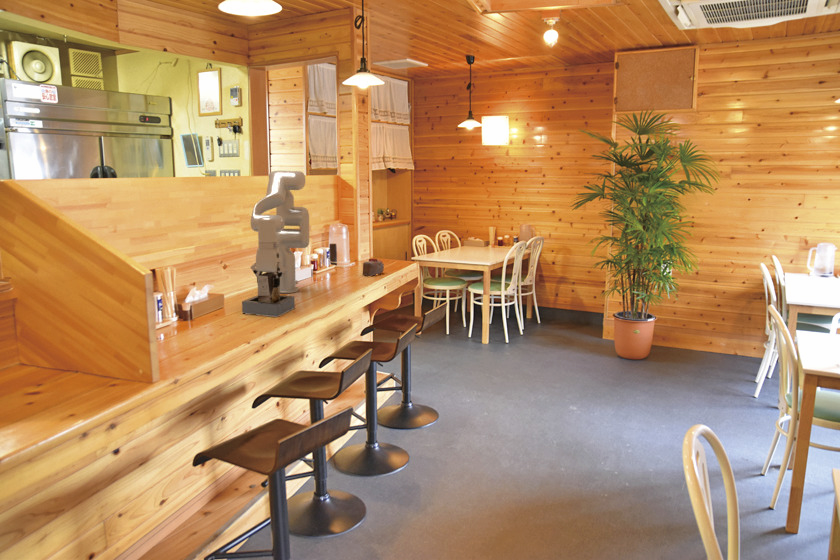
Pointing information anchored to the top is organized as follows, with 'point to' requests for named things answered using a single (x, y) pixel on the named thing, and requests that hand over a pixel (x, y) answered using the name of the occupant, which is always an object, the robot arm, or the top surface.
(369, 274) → the food item
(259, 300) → the coffee box
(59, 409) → the top surface
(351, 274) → the top surface
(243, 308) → the socket
